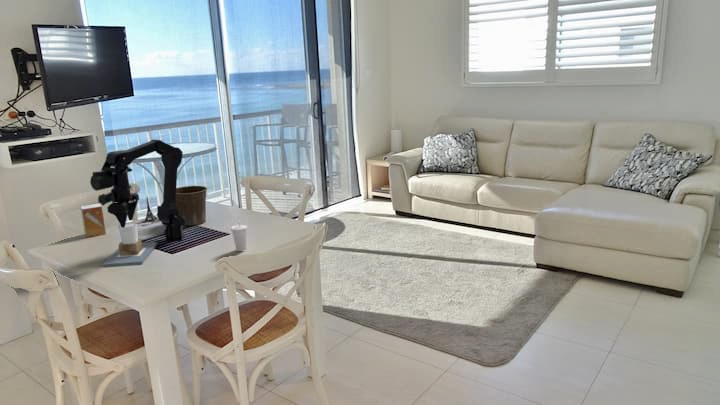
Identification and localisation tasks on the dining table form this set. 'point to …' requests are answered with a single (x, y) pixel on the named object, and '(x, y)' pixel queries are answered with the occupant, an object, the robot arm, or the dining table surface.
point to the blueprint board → (131, 256)
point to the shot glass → (128, 233)
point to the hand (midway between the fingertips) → (127, 223)
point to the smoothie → (239, 236)
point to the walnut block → (130, 248)
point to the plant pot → (192, 204)
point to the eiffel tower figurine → (150, 216)
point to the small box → (93, 220)
